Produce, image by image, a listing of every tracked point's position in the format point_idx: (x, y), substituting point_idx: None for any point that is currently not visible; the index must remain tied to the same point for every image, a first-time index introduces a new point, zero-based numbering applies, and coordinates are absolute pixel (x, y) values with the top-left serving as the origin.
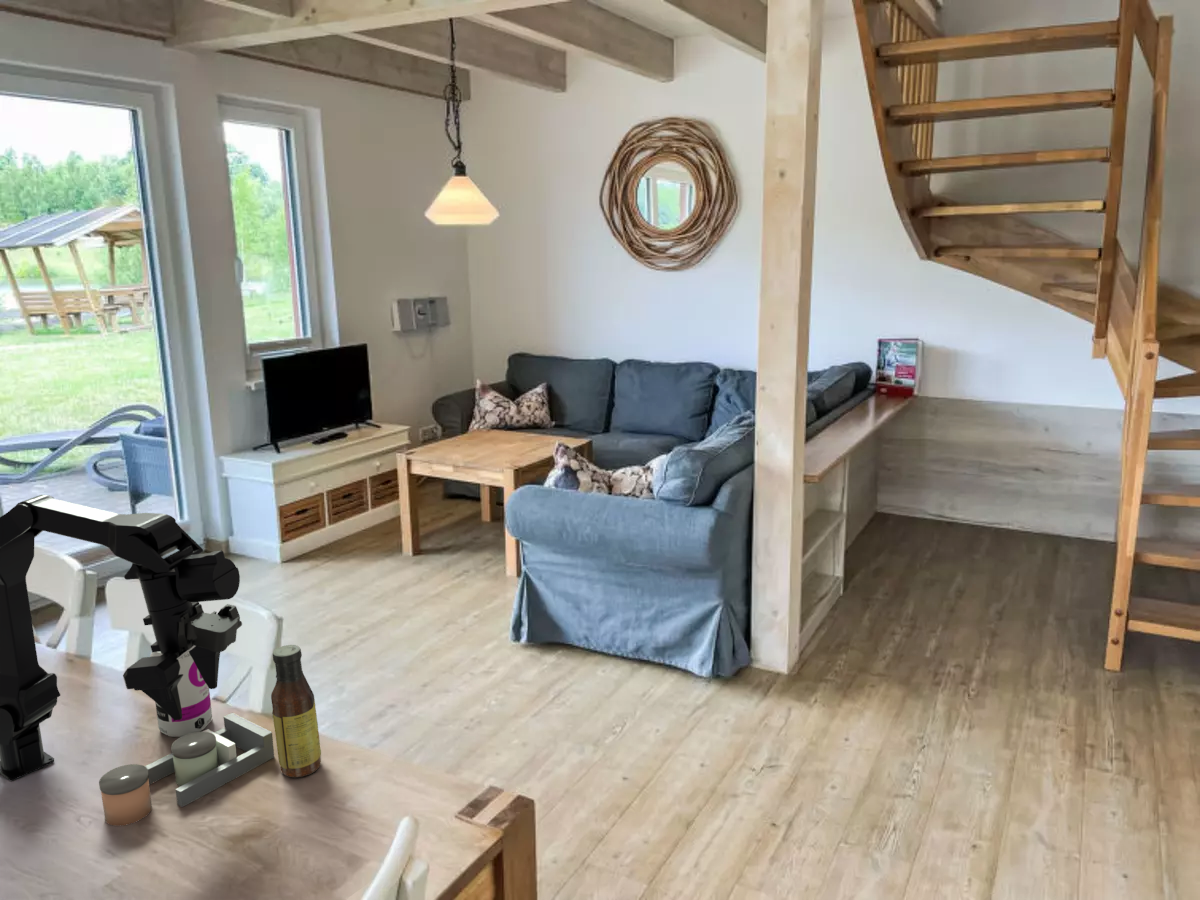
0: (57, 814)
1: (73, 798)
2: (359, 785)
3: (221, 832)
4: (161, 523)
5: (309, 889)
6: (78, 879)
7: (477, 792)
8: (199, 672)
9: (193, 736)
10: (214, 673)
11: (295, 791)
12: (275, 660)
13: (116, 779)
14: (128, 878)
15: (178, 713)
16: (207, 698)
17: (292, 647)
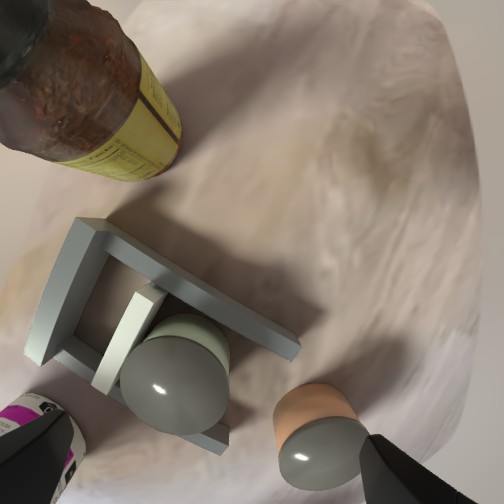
0: (312, 494)
1: (272, 497)
2: (204, 19)
3: (368, 215)
4: None
5: (450, 49)
6: (455, 378)
7: None
8: None
9: (145, 402)
10: (25, 451)
11: (227, 118)
12: None
13: (336, 465)
14: (463, 312)
15: (401, 452)
16: (8, 415)
17: None
